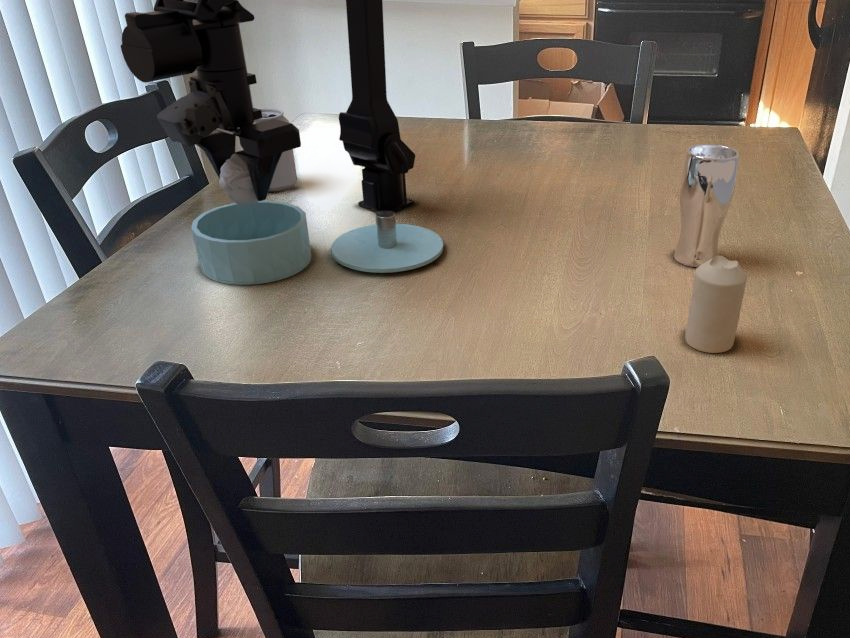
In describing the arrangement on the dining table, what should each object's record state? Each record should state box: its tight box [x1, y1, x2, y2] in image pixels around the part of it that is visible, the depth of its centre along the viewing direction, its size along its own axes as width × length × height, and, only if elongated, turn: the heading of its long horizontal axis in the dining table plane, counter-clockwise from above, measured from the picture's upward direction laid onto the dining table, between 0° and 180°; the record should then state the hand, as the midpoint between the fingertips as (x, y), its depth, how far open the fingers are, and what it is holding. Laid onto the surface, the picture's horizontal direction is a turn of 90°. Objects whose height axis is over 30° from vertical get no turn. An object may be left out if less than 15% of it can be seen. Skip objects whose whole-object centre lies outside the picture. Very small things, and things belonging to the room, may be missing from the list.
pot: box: [190, 200, 312, 286], centre depth 103 cm, size 14×15×6 cm
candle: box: [684, 255, 748, 354], centre depth 85 cm, size 6×6×10 cm
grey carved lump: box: [218, 154, 259, 206], centre depth 98 cm, size 6×7×7 cm
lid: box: [330, 211, 444, 274], centre depth 106 cm, size 15×15×6 cm
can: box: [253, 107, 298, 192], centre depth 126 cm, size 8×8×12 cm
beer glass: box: [673, 143, 740, 269], centre depth 103 cm, size 7×7×15 cm
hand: (245, 194), depth 99 cm, fingers closed on grey carved lump, 6 cm apart
